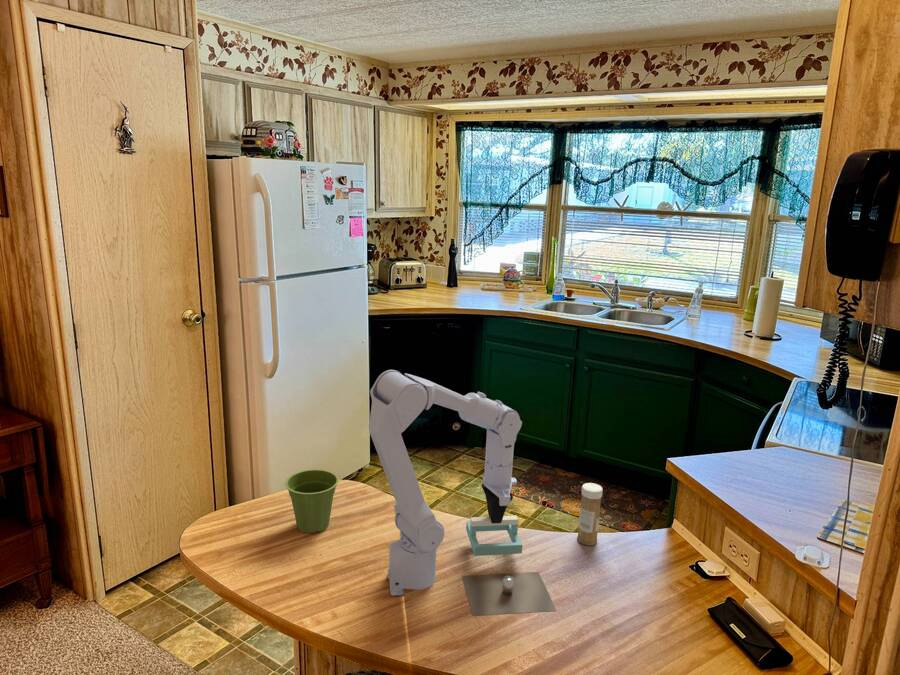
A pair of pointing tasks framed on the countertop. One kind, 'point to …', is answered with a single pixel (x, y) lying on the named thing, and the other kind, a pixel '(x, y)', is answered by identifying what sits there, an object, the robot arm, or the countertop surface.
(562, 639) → the countertop surface
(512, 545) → the teal square frame
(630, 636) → the countertop surface
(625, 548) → the countertop surface
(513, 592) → the post stand
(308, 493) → the plant pot
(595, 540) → the sprinkles bottle
